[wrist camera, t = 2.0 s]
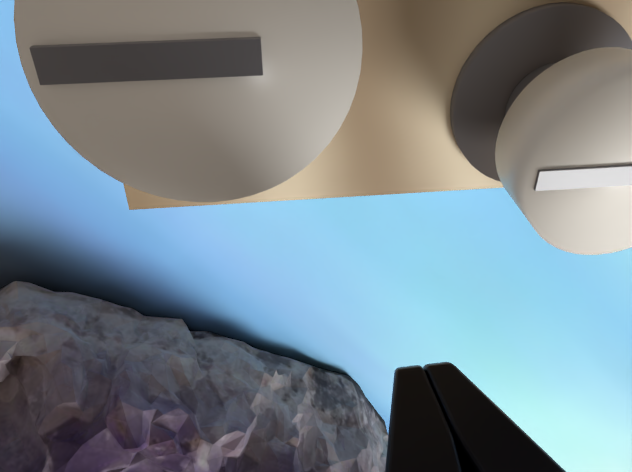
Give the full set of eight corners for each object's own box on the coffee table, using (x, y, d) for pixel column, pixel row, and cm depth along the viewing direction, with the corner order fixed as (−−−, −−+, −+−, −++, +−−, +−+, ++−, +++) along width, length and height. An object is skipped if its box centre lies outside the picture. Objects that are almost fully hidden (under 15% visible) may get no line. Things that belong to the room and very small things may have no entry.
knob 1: (329, -153, 10) (370, -147, 7) (329, 101, 13) (359, 196, 9) (56, -149, 10) (-45, -141, 6) (114, 111, 12) (63, 214, 9)
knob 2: (652, 21, 15) (764, 72, 12) (605, 173, 18) (686, 250, 15) (484, 27, 15) (551, 82, 12) (460, 182, 18) (510, 263, 14)
